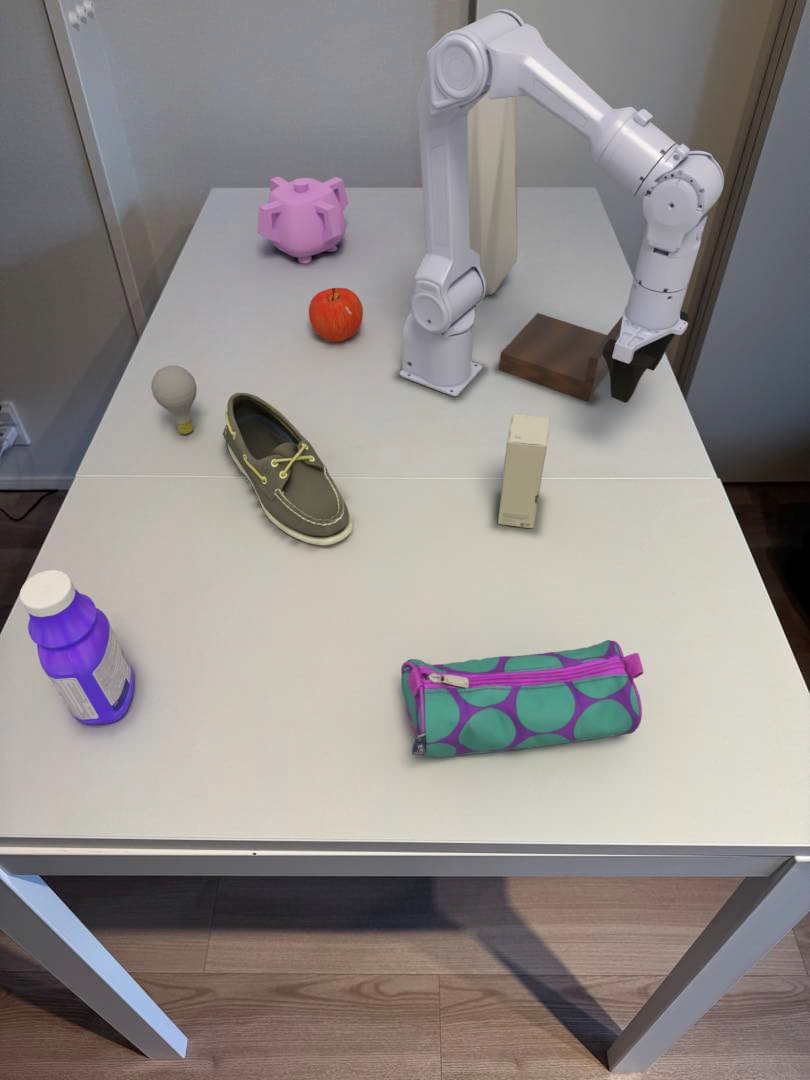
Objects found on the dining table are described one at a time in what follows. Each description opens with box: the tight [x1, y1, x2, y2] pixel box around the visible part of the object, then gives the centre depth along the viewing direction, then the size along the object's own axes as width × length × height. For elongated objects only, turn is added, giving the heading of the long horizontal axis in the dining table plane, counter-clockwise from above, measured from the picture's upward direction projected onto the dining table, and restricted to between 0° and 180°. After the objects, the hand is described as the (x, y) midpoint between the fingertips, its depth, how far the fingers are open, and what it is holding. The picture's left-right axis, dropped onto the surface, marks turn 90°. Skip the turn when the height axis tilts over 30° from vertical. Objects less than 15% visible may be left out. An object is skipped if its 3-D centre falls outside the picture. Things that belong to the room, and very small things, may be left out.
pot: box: [257, 176, 350, 264], centre depth 130 cm, size 18×17×12 cm
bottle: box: [19, 569, 135, 726], centre depth 69 cm, size 7×6×17 cm
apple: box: [308, 287, 364, 343], centre depth 114 cm, size 8×8×8 cm
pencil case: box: [400, 639, 645, 758], centre depth 70 cm, size 21×9×10 cm, turn 97°
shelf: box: [498, 312, 623, 403], centre depth 109 cm, size 14×12×7 cm
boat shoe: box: [222, 392, 354, 546], centre depth 93 cm, size 24×10×7 cm, turn 27°
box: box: [497, 413, 551, 529], centre depth 87 cm, size 5×4×13 cm
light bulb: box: [151, 365, 198, 435], centre depth 99 cm, size 6×5×10 cm
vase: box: [467, 90, 519, 297], centre depth 114 cm, size 12×12×33 cm
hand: (633, 382), depth 92 cm, fingers open, 7 cm apart
